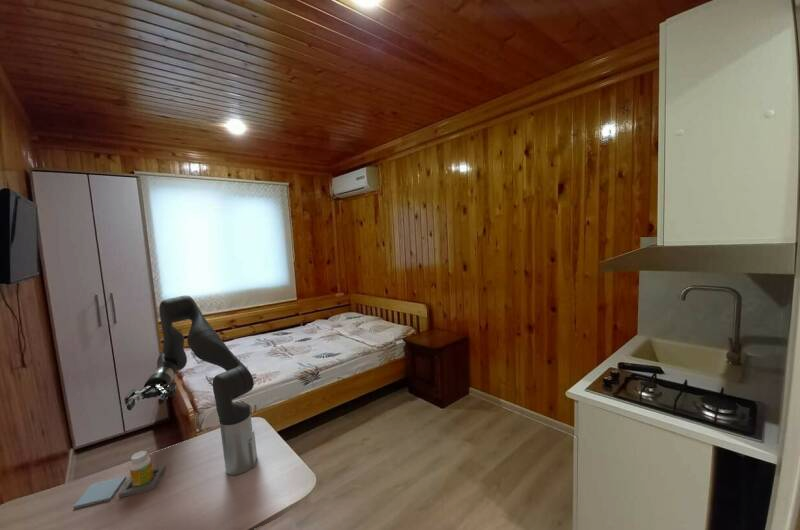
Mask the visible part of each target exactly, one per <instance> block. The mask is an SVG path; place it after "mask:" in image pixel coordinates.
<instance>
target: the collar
mask: <svg viewBox="0 0 800 530" xmlns="http://www.w3.org/2000/svg"><path fill="white" fill-rule="evenodd" d="M165 470H166V466H164V465H163V466H160V467H154V468H153V475H154V479H153V481H152V482H151V483H150V484H148V485H144V486H140V487H136V488H133V487H132V480H131V476H130V477H129V479H127V481H126V483H125V484H124V486H123V488H122V489H121V490H120V492H119V493H118V496H119V498H123V497H124V498H125V497H127V496H132V495H136V493H137V494H140V492H141V493H143V492H147V491H152V490H155V488H156V486H157V485H158V483H159V481H160V479H161V478H162V476H163V474H164V472H165ZM131 487H132V488H131Z"/></svg>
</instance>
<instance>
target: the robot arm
mask: <svg viewBox="0 0 800 530" xmlns="http://www.w3.org/2000/svg"><path fill="white" fill-rule="evenodd" d="M158 308H159V311H158V313H159V318H160V325H161V330H162V335H163V337H162V339H163V341H162V342H163V345H162V346H163V347H162V353H161V354H159V356H158V359H157V362H156V369H155V370H154V371H153V372H152V373H151V374H150V376H149V377H148V378H147V380H146V381H145V383H144V384H143V385H144V386H143V387H142V388H141V389H140V390H136V389H135V388H133V389H131V390H130V391H129V392H128V393H127V394H126V396H125V397H124V404H125V407H126V409H127V410H128V411H132V409H133V408H134V407H135V405H136V404H137V403H141V402H144V401H145V400H147V399H152V398H157V397H158V400H157V403H158V406H160V405H162V404H163V403H165V402H166V400H168V398H174V397H175V394H176V392H177V389H178V387H177V382H173V379H174V376H175V375H176V374H177V372H178V371H181V370H183V369H184V368H185V367H186V366H187V363H188V358H187V354H186V352H185V349H184V345H185V344H184V343H185V336H184V334H183V333H182V332H181V331H180V329H179V330H178V328H176V327H175V326H174V325H173V323H177V322H181V321H185V320H191V326H190V328H189V332H188V335H187V345H188V347H189V348H190V350H191V352H192V353H193V354H194V356H195V357H197V359H198V360H201V361H203V362H206V363H209V364H211V365H214V366H218V367H220V368H222V369H223V370H224V372H221V373H219V374H216V375H215V376H214V377H213V379H212V391H213V396H214V400H215V406H216V412H217V415H218V416H217V417H218V421H219V428H220V436H221V437H220V438H221V445H222V452H223V459H224V460H223V461H224V467H225V472H226V474H228V475H230V476H237V475H238V476H239V475H241V474H244V473H247V472H248V471H249V470H251V469H254V468H255V467H256V463H257V457H258V452H257V451H258V450H257V443H256V436H255V435H256V434H255V430H253V423H252V411H251V407H250V404H248V403H247V402H241V401H240V402H239V401H238V402H233V400H235V399H237V398H239V397H242V396H244V395H246V394H247V393H249V392H251V391H252V390H253V388H254V386H255V385H254V384H255V381H254V377H253V375H252V373H251V372H250V371H249V368H247V366H246V365H244V363H243V362H242V361H241V360H240V359H239V358H238V357H237V356H236V355H235V354H234V353H233V352H232V351H231V349H229V347H228V346H227V345H226V343H225V342H224V341H223V340H222V338H221V336H220V335H219V334H218V333H217V332H216V330H215V329H214V328H213V327H212V326H211V325H210V323H209V321H208V320H207V319H206V318H205V316H204V314H203V313H202V312H201V309H200V307H199V306H198V305H197V303H196V302H195V300H194V298H192V297H191V296H190V295H181V296H176V297H172V298H171V297H170V298H167V299H164V300H162V301H160V304H159V307H158Z"/></svg>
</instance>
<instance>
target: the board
mask: <svg viewBox="0 0 800 530" xmlns="http://www.w3.org/2000/svg"><path fill="white" fill-rule="evenodd" d="M126 479H127V475H124V476H119V477H115V478H110V479H106V480H103V481H96V482H94V483H91V485H90V486H89V487H88V488H87V489H86V490H85V492H84V493H83V494H82V495H81V497H80V498H79V499H78V500H77V501H76V503H75V504H74V505H73V509H74V510H75V509H79V508H83V507H87V506H92V505H96V504H98V503H104V502H107V501H112V499H113V498H114V496H116V494H117V492H118V490H119V489H120V488H121V487H122V485H123V484H124V482H125V481H126ZM122 483H123V484H122ZM103 501H104V502H103Z"/></svg>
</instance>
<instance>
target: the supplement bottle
mask: <svg viewBox="0 0 800 530" xmlns="http://www.w3.org/2000/svg"><path fill="white" fill-rule="evenodd" d="M130 458H131V459H130V461H131V463H130V465H129V472H130V477H131V480H132V485H131V487H132V488H136V487H140V486H144V485H148V484H151V482H152V481H153V479H154V477H155V474H153V469H154V468H153V462H152V458H151V457H150V456H149V455H148V451H147V450H140V451H138V452H136V453H134V454H132V456H131V457H130Z"/></svg>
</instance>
